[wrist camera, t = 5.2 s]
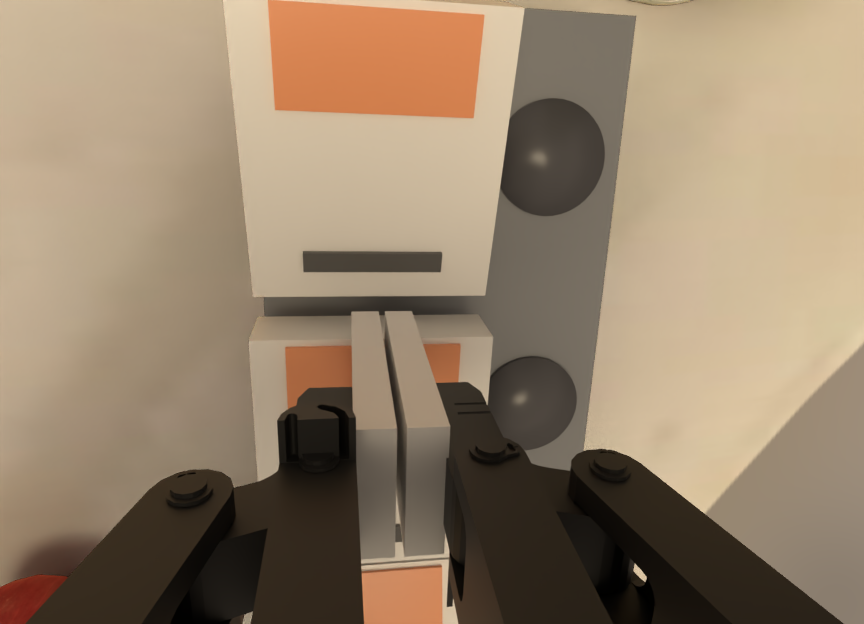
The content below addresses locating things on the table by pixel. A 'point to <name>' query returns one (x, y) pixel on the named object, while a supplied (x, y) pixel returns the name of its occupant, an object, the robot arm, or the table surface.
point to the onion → (26, 597)
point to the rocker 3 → (407, 592)
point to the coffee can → (661, 2)
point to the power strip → (541, 233)
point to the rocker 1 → (371, 141)
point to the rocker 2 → (348, 372)
